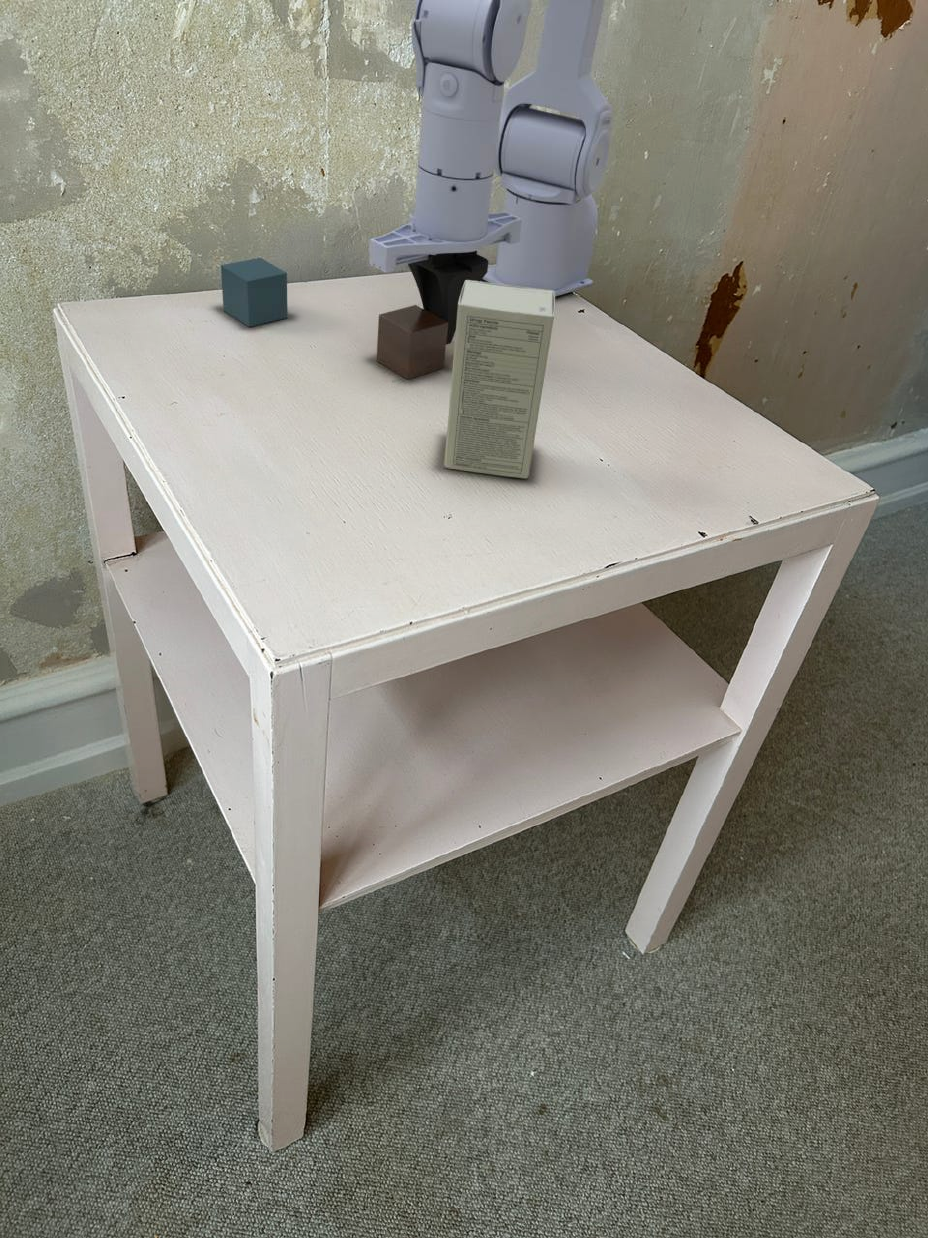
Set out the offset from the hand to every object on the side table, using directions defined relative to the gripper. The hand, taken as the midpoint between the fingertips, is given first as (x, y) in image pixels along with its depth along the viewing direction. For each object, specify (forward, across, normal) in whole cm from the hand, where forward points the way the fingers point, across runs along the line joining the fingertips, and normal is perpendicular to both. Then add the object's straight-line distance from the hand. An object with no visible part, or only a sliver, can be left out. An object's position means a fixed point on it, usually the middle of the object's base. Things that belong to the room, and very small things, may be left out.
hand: (439, 340), depth 80 cm
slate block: (+1, +8, -14) cm, 17 cm away
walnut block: (+1, +3, 0) cm, 3 cm away
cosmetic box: (+2, +8, +14) cm, 17 cm away
